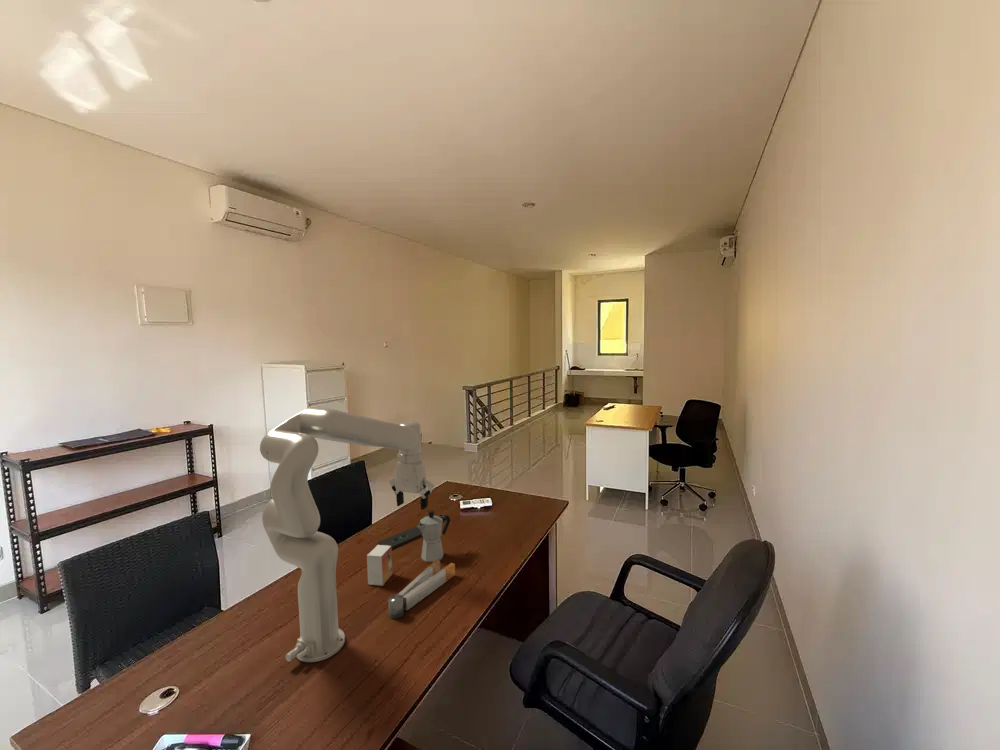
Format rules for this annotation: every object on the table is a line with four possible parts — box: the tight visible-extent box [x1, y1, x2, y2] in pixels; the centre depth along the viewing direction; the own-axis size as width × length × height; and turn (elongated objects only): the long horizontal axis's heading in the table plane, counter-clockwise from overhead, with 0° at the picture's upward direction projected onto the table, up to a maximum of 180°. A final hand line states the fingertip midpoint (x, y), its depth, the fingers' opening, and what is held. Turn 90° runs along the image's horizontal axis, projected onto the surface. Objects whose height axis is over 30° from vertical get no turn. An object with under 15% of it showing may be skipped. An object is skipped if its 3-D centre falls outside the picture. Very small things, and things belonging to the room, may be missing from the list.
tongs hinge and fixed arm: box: [387, 560, 441, 620], centre depth 142 cm, size 28×4×5 cm, turn 157°
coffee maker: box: [416, 509, 452, 563], centre depth 165 cm, size 15×9×18 cm, turn 131°
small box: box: [366, 544, 394, 586], centre depth 150 cm, size 8×6×10 cm
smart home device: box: [377, 525, 423, 550], centre depth 181 cm, size 8×2×20 cm
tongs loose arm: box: [403, 562, 456, 612], centre depth 142 cm, size 23×2×4 cm, turn 147°
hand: (412, 506), depth 149 cm, fingers open, 9 cm apart
